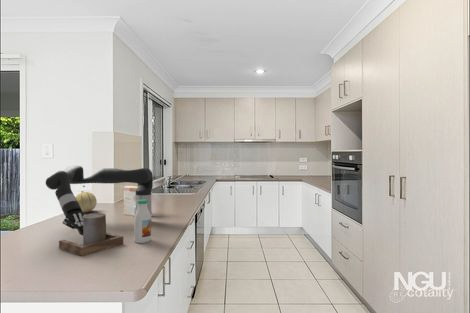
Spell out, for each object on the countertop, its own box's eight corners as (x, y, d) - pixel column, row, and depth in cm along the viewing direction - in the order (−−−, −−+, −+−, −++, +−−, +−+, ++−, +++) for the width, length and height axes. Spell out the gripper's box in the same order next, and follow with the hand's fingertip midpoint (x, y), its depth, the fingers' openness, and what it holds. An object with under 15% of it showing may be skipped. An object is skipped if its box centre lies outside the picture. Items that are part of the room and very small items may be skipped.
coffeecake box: (146, 215, 204) (146, 186, 204) (137, 217, 198) (137, 187, 198) (131, 212, 212) (131, 185, 212) (123, 214, 206) (123, 186, 206)
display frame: (59, 248, 132) (59, 240, 132) (100, 237, 149) (100, 230, 149) (81, 256, 123) (81, 247, 123) (123, 243, 140) (123, 236, 140)
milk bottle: (135, 244, 139) (135, 201, 139) (133, 240, 146) (133, 199, 146) (152, 242, 143) (152, 200, 142) (149, 238, 149) (149, 198, 149)
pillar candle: (106, 240, 145) (105, 209, 145) (106, 246, 136) (105, 213, 136) (83, 243, 141) (83, 211, 141) (82, 249, 132) (81, 215, 132)
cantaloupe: (90, 214, 205) (90, 192, 204) (69, 214, 205) (69, 192, 205) (100, 210, 219) (100, 190, 219) (80, 210, 220) (80, 189, 219)
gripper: (80, 208, 153) (93, 235, 146) (52, 212, 142) (66, 242, 135) (85, 198, 150) (100, 226, 143) (58, 202, 139) (72, 232, 132)
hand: (83, 234), depth 139 cm, fingers closed
